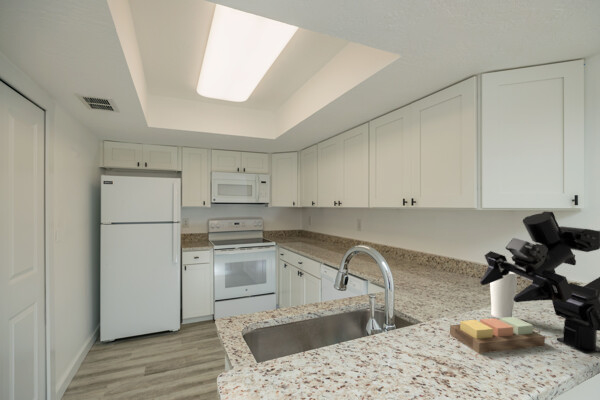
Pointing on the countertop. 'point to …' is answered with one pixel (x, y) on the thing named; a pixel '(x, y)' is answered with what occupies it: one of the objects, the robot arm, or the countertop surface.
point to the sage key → (518, 325)
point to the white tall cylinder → (503, 295)
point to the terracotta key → (498, 327)
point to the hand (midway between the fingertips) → (496, 291)
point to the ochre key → (476, 329)
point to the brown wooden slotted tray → (498, 341)
